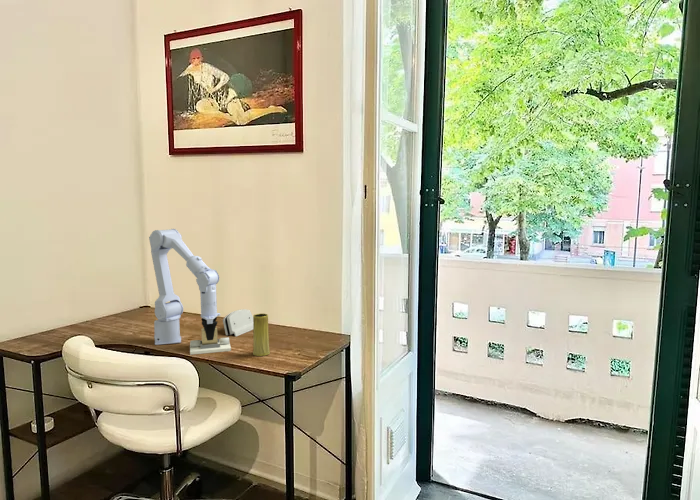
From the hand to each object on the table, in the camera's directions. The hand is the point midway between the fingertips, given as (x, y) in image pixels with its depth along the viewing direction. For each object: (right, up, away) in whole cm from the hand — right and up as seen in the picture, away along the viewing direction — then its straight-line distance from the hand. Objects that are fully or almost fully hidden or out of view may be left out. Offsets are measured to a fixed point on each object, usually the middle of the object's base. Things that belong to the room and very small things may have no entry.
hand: (209, 338), depth 186 cm
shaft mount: (0, -4, 0) cm, 4 cm away
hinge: (+6, -2, +25) cm, 25 cm away
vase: (+20, -5, -7) cm, 22 cm away
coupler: (0, -2, 0) cm, 2 cm away
